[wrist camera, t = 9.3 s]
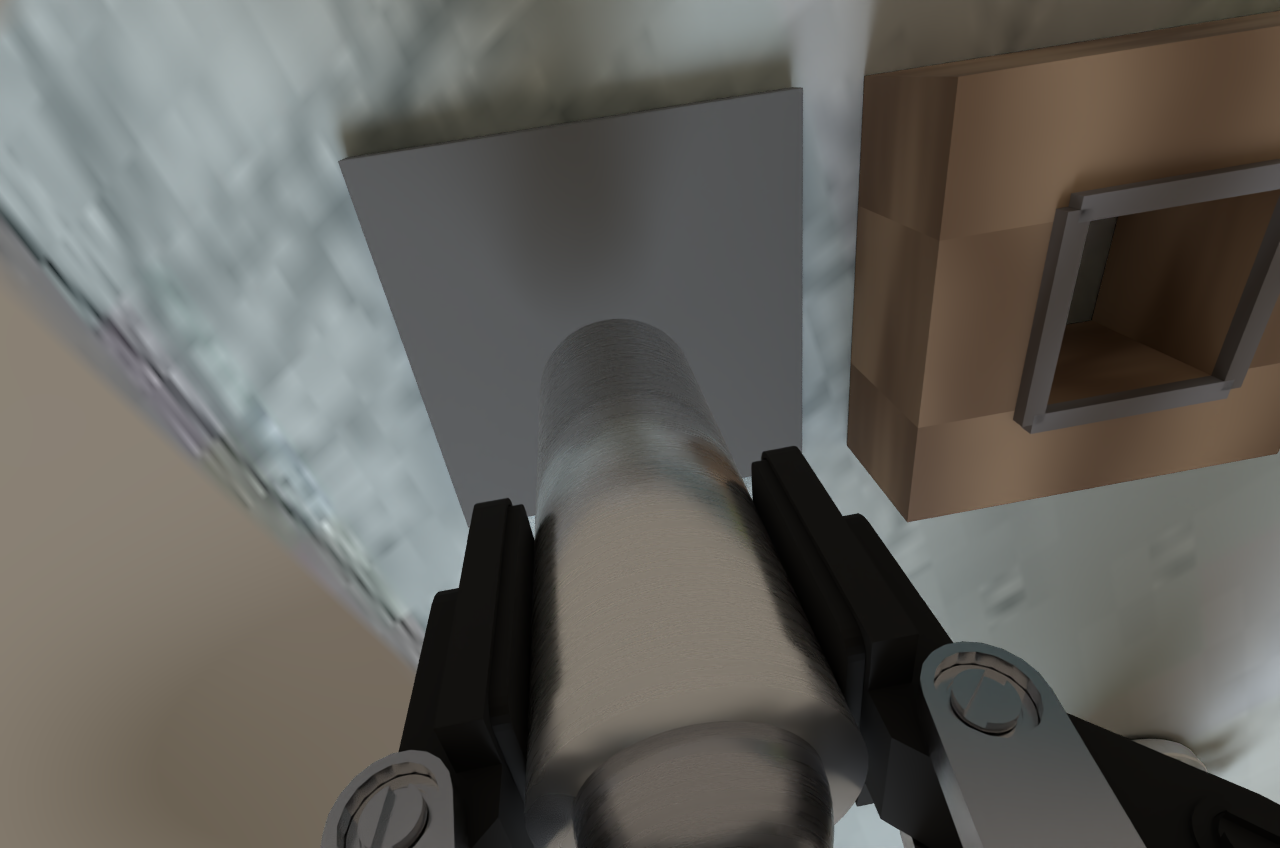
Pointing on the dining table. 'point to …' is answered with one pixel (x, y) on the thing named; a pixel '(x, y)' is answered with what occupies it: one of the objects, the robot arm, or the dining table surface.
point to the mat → (594, 268)
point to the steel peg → (667, 626)
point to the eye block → (1068, 266)
